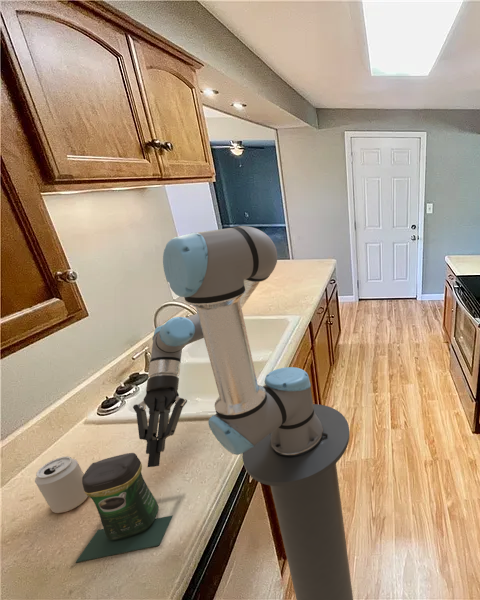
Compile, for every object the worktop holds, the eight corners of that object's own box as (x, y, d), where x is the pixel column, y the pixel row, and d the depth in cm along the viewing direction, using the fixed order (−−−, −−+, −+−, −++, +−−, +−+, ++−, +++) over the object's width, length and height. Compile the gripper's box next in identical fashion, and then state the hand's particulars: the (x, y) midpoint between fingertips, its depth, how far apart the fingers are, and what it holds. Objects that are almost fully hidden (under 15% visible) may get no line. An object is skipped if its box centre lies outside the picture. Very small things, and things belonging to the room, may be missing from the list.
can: (46, 508, 82) (25, 473, 77) (82, 484, 88) (65, 450, 84) (62, 520, 79) (41, 483, 75) (98, 493, 85) (81, 458, 81)
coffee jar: (163, 502, 83) (141, 444, 76) (152, 531, 76) (127, 470, 69) (117, 515, 80) (90, 455, 74) (101, 547, 73) (70, 484, 66)
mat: (181, 499, 84) (180, 496, 84) (159, 547, 73) (158, 544, 73) (110, 512, 81) (109, 509, 81) (77, 564, 70) (75, 562, 70)
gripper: (193, 376, 100) (186, 461, 91) (146, 383, 98) (134, 470, 89) (182, 371, 94) (173, 462, 84) (130, 378, 91) (116, 472, 82)
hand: (153, 466), depth 87 cm, fingers closed
